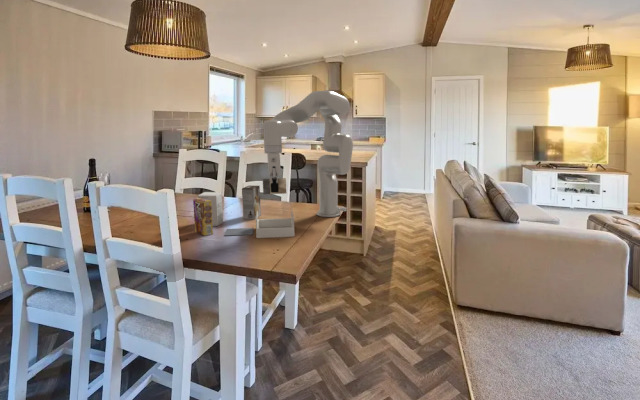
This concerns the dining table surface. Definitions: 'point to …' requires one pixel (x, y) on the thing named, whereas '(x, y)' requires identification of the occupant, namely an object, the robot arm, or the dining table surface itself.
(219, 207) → the supplement box
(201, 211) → the candy box
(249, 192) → the coffee box
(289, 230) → the grey open box
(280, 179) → the block
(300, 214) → the dining table surface
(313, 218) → the dining table surface
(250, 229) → the mat
